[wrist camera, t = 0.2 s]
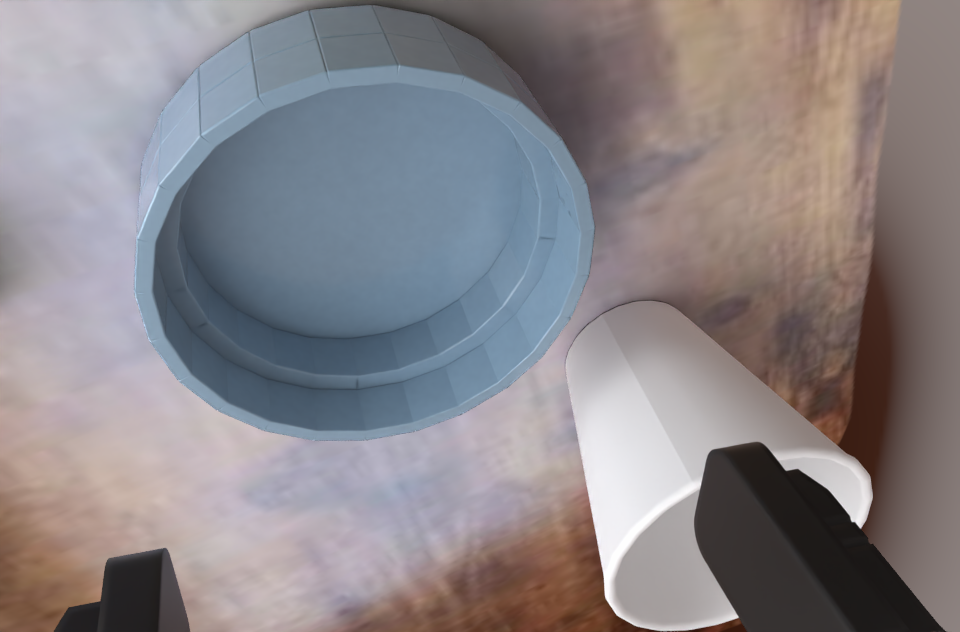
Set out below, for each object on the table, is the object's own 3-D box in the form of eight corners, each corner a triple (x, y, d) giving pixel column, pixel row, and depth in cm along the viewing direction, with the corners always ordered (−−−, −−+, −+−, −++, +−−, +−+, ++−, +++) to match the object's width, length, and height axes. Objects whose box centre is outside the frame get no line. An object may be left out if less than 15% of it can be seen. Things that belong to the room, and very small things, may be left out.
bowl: (235, -86, 27) (244, -28, 23) (621, 106, 35) (678, 174, 31) (86, 299, 35) (72, 394, 30) (433, 384, 43) (459, 469, 39)
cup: (577, 462, 50) (666, 662, 40) (475, 348, 42) (557, 564, 33) (760, 355, 48) (897, 539, 39) (690, 215, 40) (841, 404, 31)
